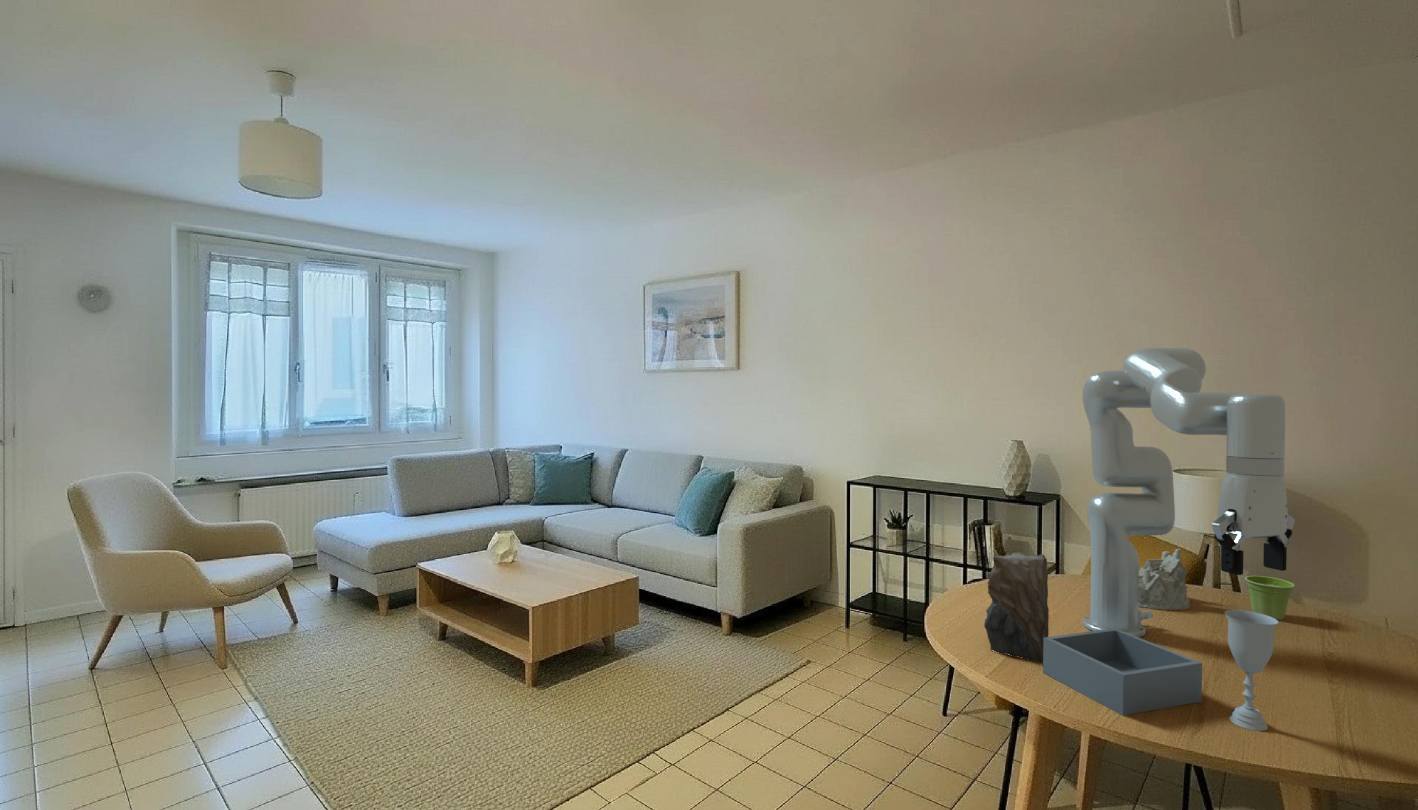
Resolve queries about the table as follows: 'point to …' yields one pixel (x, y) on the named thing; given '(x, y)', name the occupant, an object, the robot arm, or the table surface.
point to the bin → (1122, 670)
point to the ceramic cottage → (1163, 583)
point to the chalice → (1250, 658)
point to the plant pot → (1269, 595)
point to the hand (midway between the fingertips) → (1253, 570)
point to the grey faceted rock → (1018, 605)
